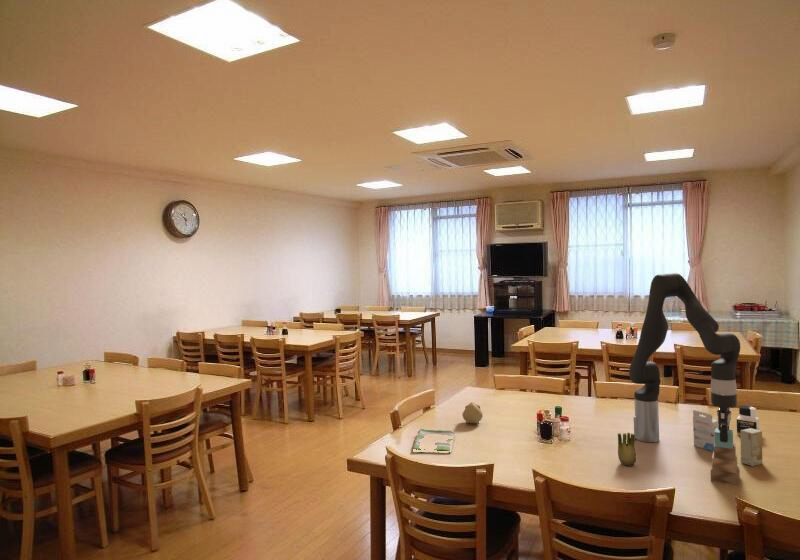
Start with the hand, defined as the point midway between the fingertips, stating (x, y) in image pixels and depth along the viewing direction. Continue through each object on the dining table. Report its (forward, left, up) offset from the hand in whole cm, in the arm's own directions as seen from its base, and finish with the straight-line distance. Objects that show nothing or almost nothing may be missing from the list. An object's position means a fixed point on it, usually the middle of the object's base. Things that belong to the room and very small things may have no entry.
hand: (724, 438), depth 173 cm
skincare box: (+7, +21, -15) cm, 27 cm away
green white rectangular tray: (-106, -21, -15) cm, 109 cm away
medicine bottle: (+5, +57, -15) cm, 59 cm away
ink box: (-8, +31, -15) cm, 35 cm away
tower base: (0, 0, -14) cm, 15 cm away
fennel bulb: (-31, -3, -15) cm, 34 cm away
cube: (0, 0, -3) cm, 3 cm away
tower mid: (0, 0, -10) cm, 11 cm away
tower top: (0, 0, -6) cm, 7 cm away
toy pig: (-105, +13, -15) cm, 107 cm away
